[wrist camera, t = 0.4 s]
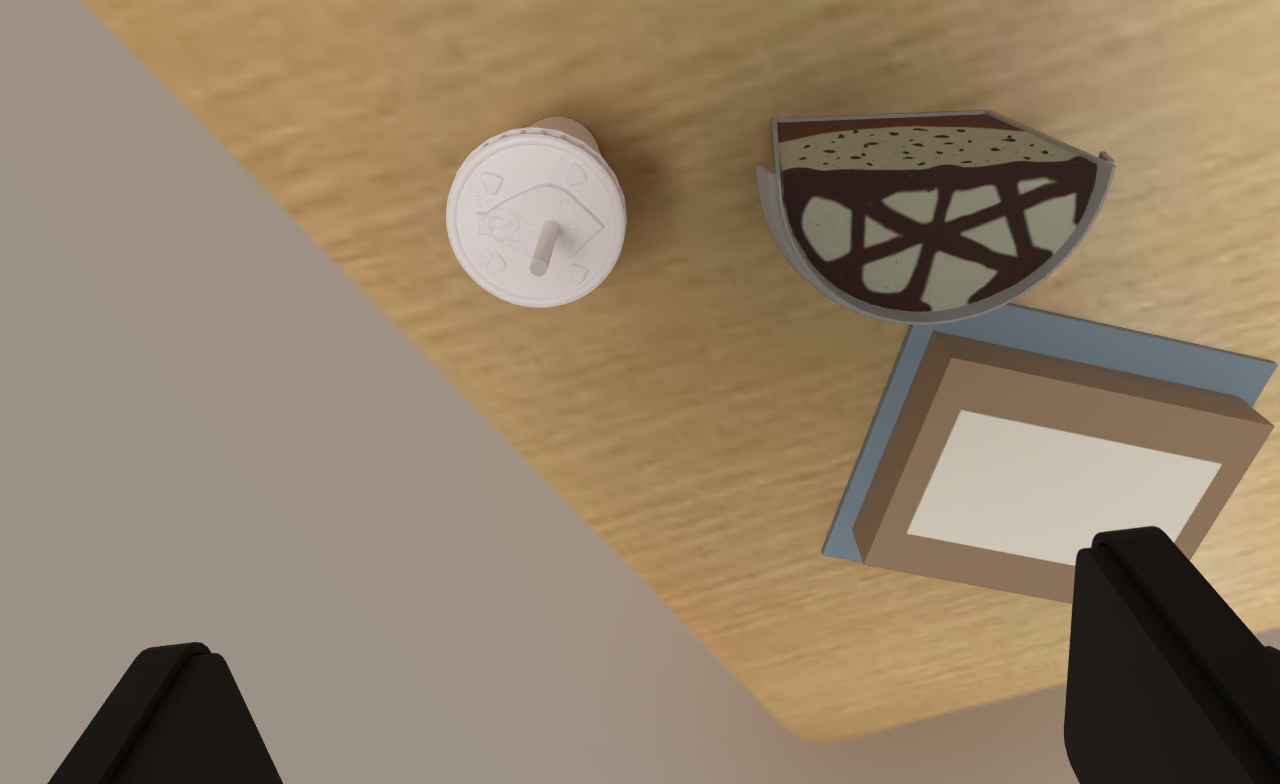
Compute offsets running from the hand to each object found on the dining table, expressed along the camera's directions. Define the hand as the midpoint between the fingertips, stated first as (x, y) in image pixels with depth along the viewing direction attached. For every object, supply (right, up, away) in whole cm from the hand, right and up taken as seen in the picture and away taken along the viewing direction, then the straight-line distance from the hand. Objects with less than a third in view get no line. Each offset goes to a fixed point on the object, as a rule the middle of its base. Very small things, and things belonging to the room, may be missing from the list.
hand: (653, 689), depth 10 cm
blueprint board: (+20, 0, +38) cm, 43 cm away
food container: (+10, +13, +31) cm, 35 cm away
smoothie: (-4, +14, +31) cm, 34 cm away
